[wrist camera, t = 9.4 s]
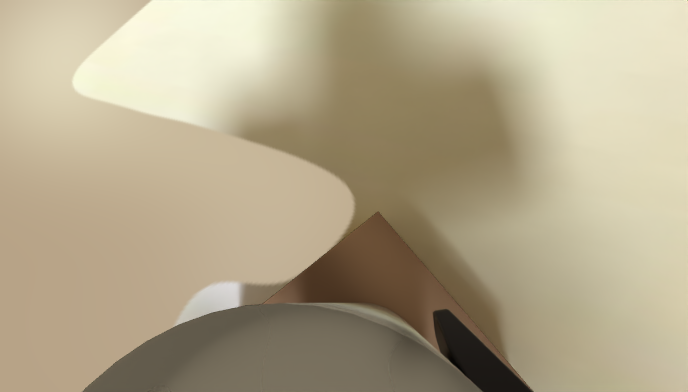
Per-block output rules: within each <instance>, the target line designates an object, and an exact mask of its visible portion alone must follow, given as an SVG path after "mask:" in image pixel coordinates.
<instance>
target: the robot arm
mask: <svg viewBox="0 0 688 392" xmlns="http://www.w3.org/2000/svg"><path fill="white" fill-rule="evenodd" d="M433 321H434V330H435V336H436V339H437V343H438V346H439V350H440V353H441V354H442V355H443V356H444V357H445V358H446V359H448V360H449V361H450V362H451V363H452V364H453V365H454V366H455V367H456V368H457V369H459V370H460V371H461V372H462V373H463V374H464V375H465V376H466V377H467V378H468V379H469V380H471V381H472V382H473V383H474V384H475V385H476V386H477V387H478V388H479V389H480V390H481V391H483V392H533V391H532V390H531V389H530V388H529V387H528V386H527V385H526V384H525V383H524V382H523V381H522V380H521V379H520V378H519V377H518V376H517V375H516V374H515V373H514V372H513V371H512V370H511V369H510V368H509V367H508V366H507V365H505V364H504V363H503V362H502V361H501V360H500V359H499V358H498V357H497V356H496V355H495V354H494V353H493V352H492V351H491V350H490V349H489V348H488V347H487V346H486V345H485V344H484V343H483V342H482V341H481V340H480V339H479V338H478V337H477V336H476V335H475V334H474V333H473V332H472V331H470V330H469V329H468V328H467V327H466V326H465V325H464V324H463V323H462V322H461V321H460V320H459V319H458V318H457V317H456V316H455V315H454V314H453V313H452V312H451V311H450V310H449V309H440V310H435V311H434V312H433Z"/></svg>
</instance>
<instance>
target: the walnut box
mask: <svg viewBox="0 0 688 392" xmlns="http://www.w3.org/2000/svg"><path fill="white" fill-rule="evenodd" d="M275 303H371V304H376V305H380V306H382V307H385V308H387V309H389V310H391V311H393V312H395V313H396V314H398V315H399V316H400V317H402V318H403V319H404V320H405V321H406V322H407V323H408V324H409V325H410V326H412V327H413V328H414V329H415V330H416V331H417V332H418V333H419V334H420V335H421V336H422V337H424V338H425V339H426V340H427V341H428V342H429V343H430V344H431V345H432V346H433V347H434V348H436V349H437V350H438V351H439V352H440V350H439V346H438V343H437V339H436V336H435V330H434V321H433V312H434V311H435V310H440V309H449V310H450V311H451V312H452V313H453V314H454V315H455V316H456V317H457V318H458V319H459V320H460V321H461V322H462V323H463V324H464V325H465V326H466V327H467V328H468V329H469V330H470V331H472V332H473V333H474V334H475V335H476V336H477V337H478V338H479V339H480V340H481V341H482V342H483V343H484V344H485V345H486V346H487V347H488V348H489V349H490V350H491V351H492V352H493V353H494V354H495V355H496V356H497V357H498V358H499V359H500V360H501V361H502V362H503V363H504V364H505V365H507V366H508V367H509V368H510V369H511V370H512V371H513V372H514V373H515V374H516V375H517V376H518V377H519V378H520V379H521V380H522V381H523V382H524V383H525V381H524V380H523V379H522V378H521V377H520V376H519V374H518V373H517V372H516V371H515V370H514V369H513V368H512V366H511V365H510V364H509V363H508V362H507V361H506V359H505V358H504V357H503V356H502V355H501V354H500V352H499V351H498V350H497V349H496V348H495V347H494V345H493V344H492V343H491V342H490V341H489V340H488V338H487V337H486V336H485V335H484V334H483V333H482V332H481V330H480V329H479V328H478V327H477V326H476V325H475V323H474V322H473V321H472V320H471V319H470V318H469V316H468V315H467V314H466V313H465V312H464V311H463V309H462V308H461V307H460V306H459V305H458V304H457V303H456V301H455V300H454V299H453V298H452V297H451V296H450V294H449V293H448V292H447V291H446V290H445V289H444V287H443V286H442V285H441V284H440V283H439V282H438V280H437V279H436V278H435V277H434V276H433V275H432V273H431V272H430V271H429V270H428V269H427V268H426V267H425V265H424V264H423V263H422V262H421V261H420V260H419V258H418V257H417V256H416V255H415V254H414V253H413V251H412V250H411V249H410V248H409V247H408V246H407V244H406V243H405V242H404V241H403V240H402V239H401V238H400V236H399V235H398V234H397V233H396V232H395V231H394V229H393V228H392V227H391V226H390V225H389V224H388V222H387V221H386V220H385V219H384V218H383V217H382V215H381V214H380V213H379V212H377V213H376V214H374V215H373V216H372V217H371V218H369V219H368V220H367V221H366V222H364V223H363V224H362V225H361V226H359V227H358V228H357V229H356V230H354V231H353V232H352V233H351V234H349V235H348V236H347V237H346V238H344V239H343V240H342V241H341V242H339V243H338V244H337V245H336V246H334V247H333V248H332V249H331V250H329V251H328V252H327V253H326V254H324V255H323V256H322V257H321V258H319V259H318V260H317V261H316V262H314V263H313V264H312V265H311V266H309V267H308V268H307V269H306V270H304V271H303V272H302V273H301V274H299V275H298V276H297V277H296V278H294V279H293V280H292V281H291V282H289V283H288V284H287V285H286V286H284V287H283V288H282V289H281V290H279V291H278V292H277V293H276V294H274V295H273V296H272V297H271V298H269V299H268V300H267V301H266V302H264V303H263V304H275ZM525 384H526V383H525ZM526 385H527V384H526ZM527 386H528V385H527ZM528 387H529V386H528ZM529 388H530V387H529ZM530 389H531V388H530Z"/></svg>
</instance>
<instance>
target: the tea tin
mask: <svg viewBox="0 0 688 392" xmlns="http://www.w3.org/2000/svg"><path fill="white" fill-rule="evenodd" d="M83 392H483V391H481V390H480V389H479V388H478V387H477V386H476V385H475V384H474V383H473V382H472V381H471V380H469V379H468V378H467V377H466V376H465V375H464V374H463V373H462V372H461V371H460V370H459V369H457V368H456V367H455V366H454V365H453V364H452V363H451V362H450V361H449V360H448V359H446V358H445V357H444V356H443V355H442V354H441V353H440V352H439V351H438V350H437V349H436V348H434V347H433V346H432V345H431V344H430V343H429V342H428V341H427V340H426V339H425V338H424V337H422V336H421V335H420V334H419V333H418V332H417V331H416V330H415V329H414V328H413V327H412V326H410V325H409V324H408V323H407V322H406V321H405V320H404V319H403V318H402V317H400V316H399V315H398V314H396V313H395V312H393V311H391V310H389V309H387V308H385V307H382V306H380V305H376V304H371V303H275V304H260V305H246V306H241V307H237V308H232V309H227V310H222V311H218V312H213V313H210V314H207V315H204V316H201V317H199V318H196V319H193V320H190V321H188V322H185V323H182V324H179V325H177V326H175V327H173V328H171V329H170V330H167V331H166V332H164V333H162V334H160V335H158V336H156V337H154V338H152V339H150V340H148V341H146V342H145V343H143V344H142V345H140V346H139V347H137V348H136V349H134V350H133V351H132V352H130V353H129V354H127V355H126V356H124V357H123V358H121V359H120V360H118V361H117V362H115V363H114V364H113V365H112V366H111V367H110V368H109V369H107V370H106V371H105V372H104V373H103V374H102V375H100V376H99V377H98V378H97V379H96V380H95V381H93V382H92V383H91V384H90V385H89V386H88V387H86V388H85V389H84V391H83Z"/></svg>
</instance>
